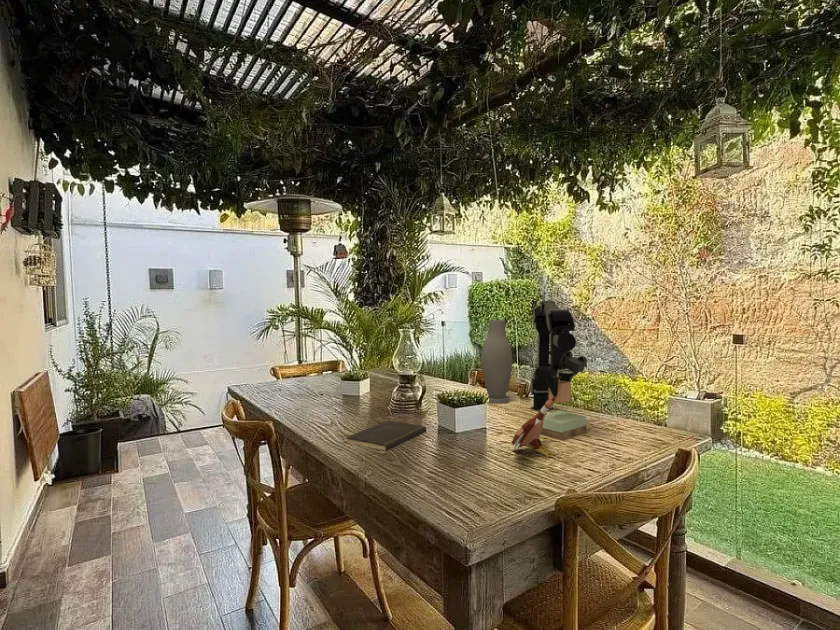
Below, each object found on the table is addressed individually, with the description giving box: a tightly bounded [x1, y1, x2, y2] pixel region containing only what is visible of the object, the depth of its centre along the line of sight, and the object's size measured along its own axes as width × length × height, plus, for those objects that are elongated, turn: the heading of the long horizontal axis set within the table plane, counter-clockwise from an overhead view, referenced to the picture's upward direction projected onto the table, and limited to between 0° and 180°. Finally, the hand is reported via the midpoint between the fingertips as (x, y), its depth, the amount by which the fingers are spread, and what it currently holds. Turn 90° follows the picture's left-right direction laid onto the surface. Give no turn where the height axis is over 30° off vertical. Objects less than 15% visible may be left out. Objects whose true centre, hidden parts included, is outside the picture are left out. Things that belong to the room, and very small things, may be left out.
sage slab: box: [543, 410, 587, 433], centre depth 153 cm, size 13×10×3 cm
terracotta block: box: [549, 380, 572, 403], centre depth 153 cm, size 5×5×6 cm
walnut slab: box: [540, 424, 587, 441], centre depth 153 cm, size 13×10×3 cm
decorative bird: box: [511, 396, 557, 458], centre depth 133 cm, size 28×18×15 cm, turn 151°
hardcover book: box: [344, 420, 427, 452], centre depth 153 cm, size 16×23×2 cm
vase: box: [480, 319, 513, 404], centre depth 201 cm, size 13×13×35 cm
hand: (559, 395), depth 153 cm, fingers closed on terracotta block, 5 cm apart
